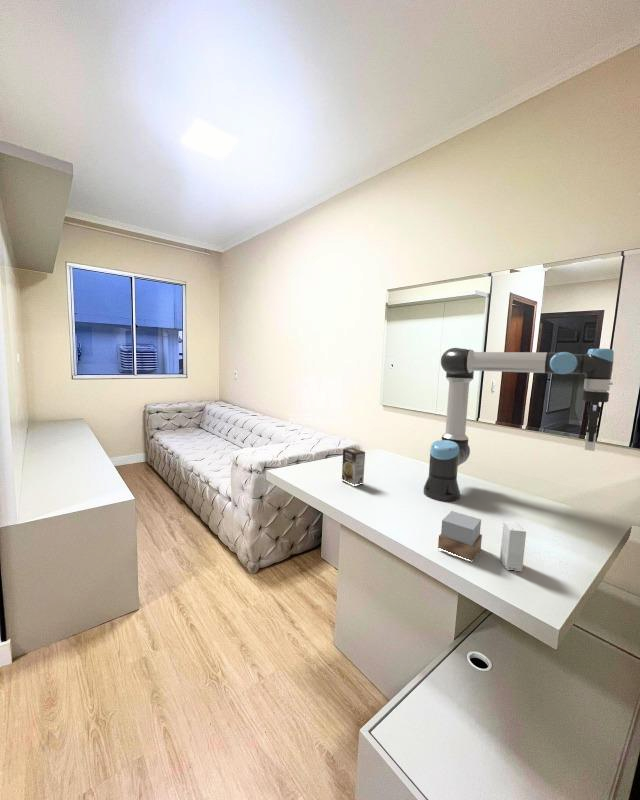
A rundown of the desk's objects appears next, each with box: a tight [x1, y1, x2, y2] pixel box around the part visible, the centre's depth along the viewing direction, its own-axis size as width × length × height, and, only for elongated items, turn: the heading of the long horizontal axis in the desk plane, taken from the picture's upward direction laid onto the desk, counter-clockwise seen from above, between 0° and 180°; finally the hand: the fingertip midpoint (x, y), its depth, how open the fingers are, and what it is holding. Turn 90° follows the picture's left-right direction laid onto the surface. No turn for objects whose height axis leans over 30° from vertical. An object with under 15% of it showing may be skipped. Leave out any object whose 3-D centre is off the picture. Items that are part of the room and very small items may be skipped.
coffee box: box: [341, 447, 366, 485], centre depth 162 cm, size 9×6×16 cm
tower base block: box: [437, 533, 483, 561], centre depth 106 cm, size 10×10×5 cm
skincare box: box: [499, 520, 527, 572], centre depth 98 cm, size 6×4×12 cm
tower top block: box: [440, 510, 482, 546], centre depth 106 cm, size 9×9×5 cm
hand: (589, 447), depth 129 cm, fingers open, 13 cm apart
